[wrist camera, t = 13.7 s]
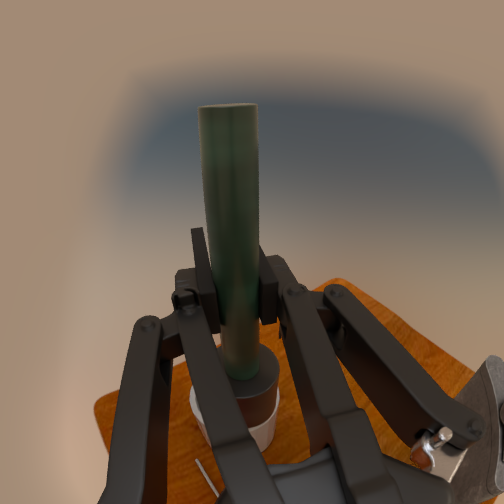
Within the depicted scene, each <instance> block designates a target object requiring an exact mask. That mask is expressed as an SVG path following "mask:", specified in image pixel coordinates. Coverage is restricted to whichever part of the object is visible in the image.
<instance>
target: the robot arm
mask: <svg viewBox="0 0 504 504" xmlns="http://www.w3.org/2000/svg"><path fill="white" fill-rule="evenodd" d="M191 234H192V244H193V252H194V260H195V268H189V269H181V270H178V271H177V273H176V275H175V291H174V292H173V294H172V297H171V299H172V303H173V307H174V311H173V313H172V314H170V315H169V316H167V317H165V318H163V319H159V318H158V317H156V316H151V315H149V316H144V317H142V318H140V319H139V320H137V322H136V323H135V325H134V328H133V332H132V336H131V340H130V344H129V349H128V353H127V357H126V362H125V366H124V371H123V375H122V380H121V385H120V390H119V396H118V401H117V407H116V412H115V418H114V425H113V431H112V438H111V446H110V453H109V462H108V471H107V483H106V487H105V489H104V491H103V493H102V495H101V497H100V499H99V501H98V503H97V504H166V503H167V457H168V429H169V410H170V394H171V381H172V369H173V359H174V358H176V357H178V356H181V355H183V354H185V358H186V362H187V366H188V370H189V374H190V377H191V381H192V385H193V388H194V392H195V395H196V399H197V402H198V405H199V409H200V412H201V415H202V419H203V422H204V425H205V428H206V431H207V434H208V437H209V440H210V443H211V446H212V451H213V454H214V457H215V460H216V462H217V465H218V468H219V471H220V473H221V476H222V479H223V481H224V484H225V486H226V487H225V488H224V490H223V491H222V492H221V494H220V495H219V497H218V499H217V500H216V502H215V504H455V493H454V490H453V488H452V486H451V484H450V482H451V481H452V479H453V477H454V475H455V473H456V471H457V470H458V468H459V466H460V464H461V462H462V460H463V458H464V456H465V454H466V452H467V450H468V449H469V448H470V447H471V446H472V445H474V444H475V443H476V442H478V441H479V440H480V439H482V438H483V436H484V435H485V433H486V422H485V420H484V418H483V417H482V416H481V415H479V414H478V413H476V412H474V411H473V410H471V409H469V408H468V407H466V406H464V405H463V404H461V403H459V402H458V401H456V400H454V399H452V398H451V397H449V396H447V394H446V393H445V392H444V391H443V390H442V389H441V388H440V386H439V385H438V384H437V383H436V382H435V381H434V380H433V379H432V377H431V376H430V375H429V374H428V373H427V372H426V371H425V370H424V369H423V368H422V366H421V365H420V364H419V363H418V362H417V361H416V360H415V359H414V358H413V357H412V356H411V354H410V353H409V352H408V351H407V350H406V349H405V348H404V347H403V346H402V345H401V344H400V343H399V342H398V341H397V339H396V338H395V337H394V336H393V335H392V334H391V333H390V332H389V331H388V330H387V329H386V328H385V327H384V326H383V325H382V324H381V323H380V322H379V321H378V320H377V318H376V317H375V316H374V315H373V314H372V313H371V312H370V311H369V310H368V309H367V308H366V307H365V306H364V305H363V304H362V303H361V302H360V301H359V300H358V299H357V298H356V297H355V296H354V295H353V294H352V293H351V292H350V291H349V290H348V289H347V288H346V287H344V286H342V285H339V284H331V285H328V286H326V287H325V289H324V292H314V291H309V290H308V289H307V288H306V286H304V285H302V284H299V283H298V282H297V280H296V278H295V277H294V275H293V274H292V272H291V270H290V269H289V267H288V265H287V264H286V262H285V260H284V259H283V258H281V257H280V256H278V255H273V256H267V257H266V256H265V254H264V252H263V250H262V249H261V247H260V245H259V317H260V320H261V323H262V325H268V324H273V323H277V316H278V318H279V321H280V326H279V339H281V336H282V340H283V343H284V347H285V351H286V354H287V358H288V362H289V365H290V369H291V373H292V377H293V380H294V384H295V388H296V391H297V395H298V399H299V402H300V406H301V410H302V414H303V417H304V421H305V425H306V428H307V432H308V436H309V440H310V454H311V457H309V458H308V459H306V460H304V461H303V462H301V463H295V464H270V465H266V462H265V460H264V458H263V456H262V454H261V452H260V449H259V447H258V445H257V443H256V441H255V439H254V438H253V437H252V435H251V434H250V432H249V429H248V427H247V425H246V422H245V420H244V417H243V415H242V413H241V410H240V408H239V405H238V403H237V400H236V398H235V395H234V393H233V390H232V388H231V385H230V382H229V380H228V377H227V375H226V372H225V369H224V367H223V364H222V361H221V359H220V356H219V353H218V350H217V348H216V345H215V342H214V339H213V337H212V334H218V333H221V326H220V319H219V311H218V303H217V295H216V289H215V285H214V282H213V278H212V271H211V266H210V262H209V258H208V252H207V247H206V242H205V238H204V232H203V228H202V227H200V228H193V229H191ZM336 356H337V357H338V358H339V360H340V361H341V362H342V363H343V365H344V366H345V367H346V369H347V370H348V371H349V373H350V374H351V375H352V377H353V378H354V379H355V381H356V382H357V383H358V385H359V386H360V387H361V389H362V390H363V391H364V393H365V394H366V395H367V396H368V398H369V399H370V400H371V402H372V403H373V404H374V406H375V407H376V408H377V410H378V411H379V412H380V414H381V415H382V416H383V418H384V419H385V420H386V422H387V423H388V424H389V426H390V427H391V428H392V430H393V431H394V432H395V433H396V435H397V436H398V437H399V438H400V439H401V440H402V441H403V442H404V443H405V444H406V445H407V446H409V447H410V448H411V455H410V459H411V461H412V462H414V463H417V464H418V465H419V467H420V469H418V468H416V467H413V466H411V465H409V464H406V463H404V462H401V461H399V460H397V459H394V458H392V457H390V456H388V455H386V454H383V453H382V452H381V449H380V447H379V444H378V442H377V439H376V436H375V434H374V431H373V429H372V426H371V423H370V421H369V418H368V416H367V414H366V412H365V411H364V410H363V409H362V408H358V407H357V406H356V404H355V401H354V399H353V396H352V394H351V391H350V389H349V386H348V384H347V381H346V379H345V376H344V374H343V371H342V369H341V366H340V364H339V361H338V359H337V357H336Z"/></svg>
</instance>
